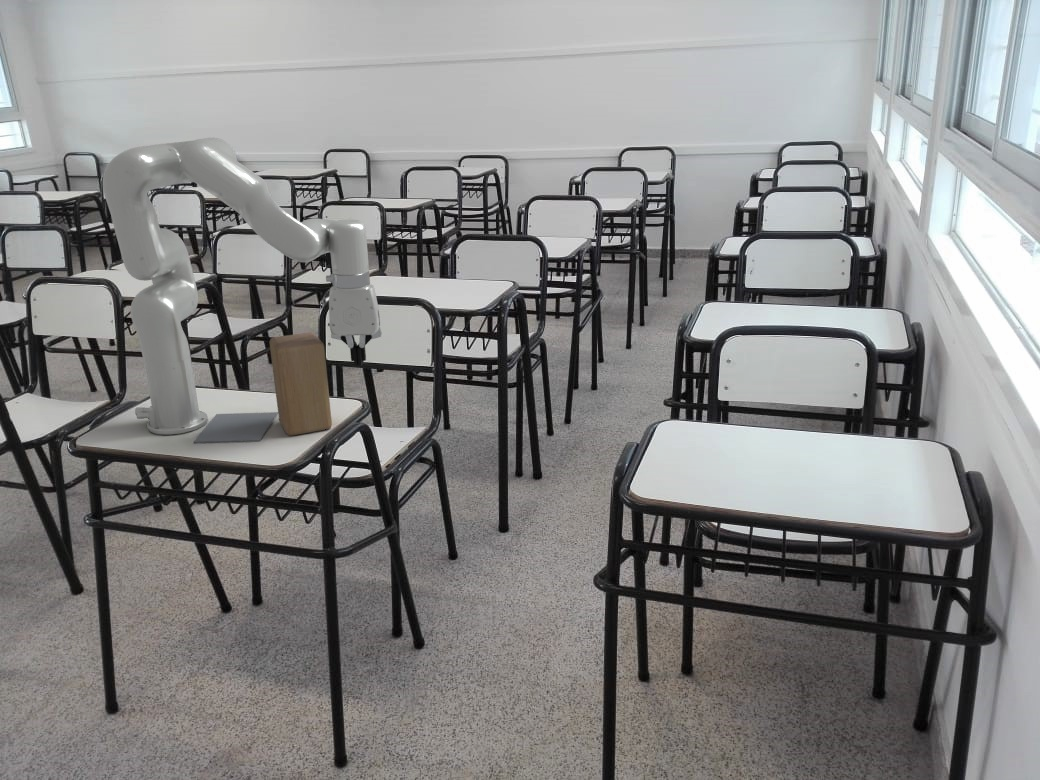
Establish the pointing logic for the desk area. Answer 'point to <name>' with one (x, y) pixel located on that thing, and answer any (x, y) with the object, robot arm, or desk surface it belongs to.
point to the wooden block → (301, 383)
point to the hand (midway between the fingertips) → (359, 363)
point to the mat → (236, 427)
